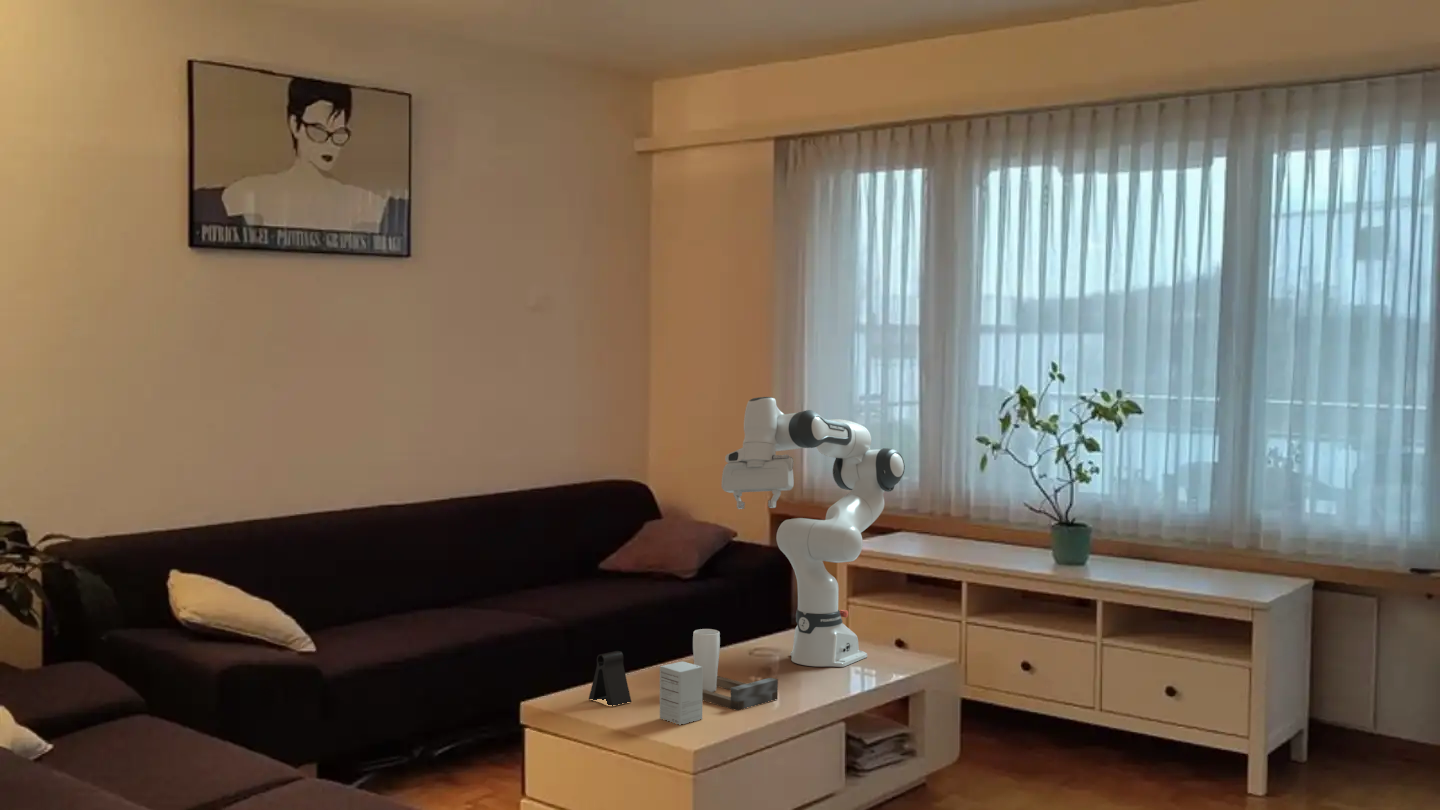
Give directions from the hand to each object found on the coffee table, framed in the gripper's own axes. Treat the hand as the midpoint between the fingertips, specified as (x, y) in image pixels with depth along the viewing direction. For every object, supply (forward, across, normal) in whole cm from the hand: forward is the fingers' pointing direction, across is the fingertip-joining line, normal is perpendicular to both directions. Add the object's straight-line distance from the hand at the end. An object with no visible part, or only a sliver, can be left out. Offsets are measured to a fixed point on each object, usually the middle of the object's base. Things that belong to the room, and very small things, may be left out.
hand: (756, 508), depth 355 cm
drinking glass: (+48, +7, +8) cm, 49 cm away
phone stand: (+52, +22, +28) cm, 63 cm away
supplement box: (+55, -1, +31) cm, 64 cm away
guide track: (+49, 0, +9) cm, 50 cm away
